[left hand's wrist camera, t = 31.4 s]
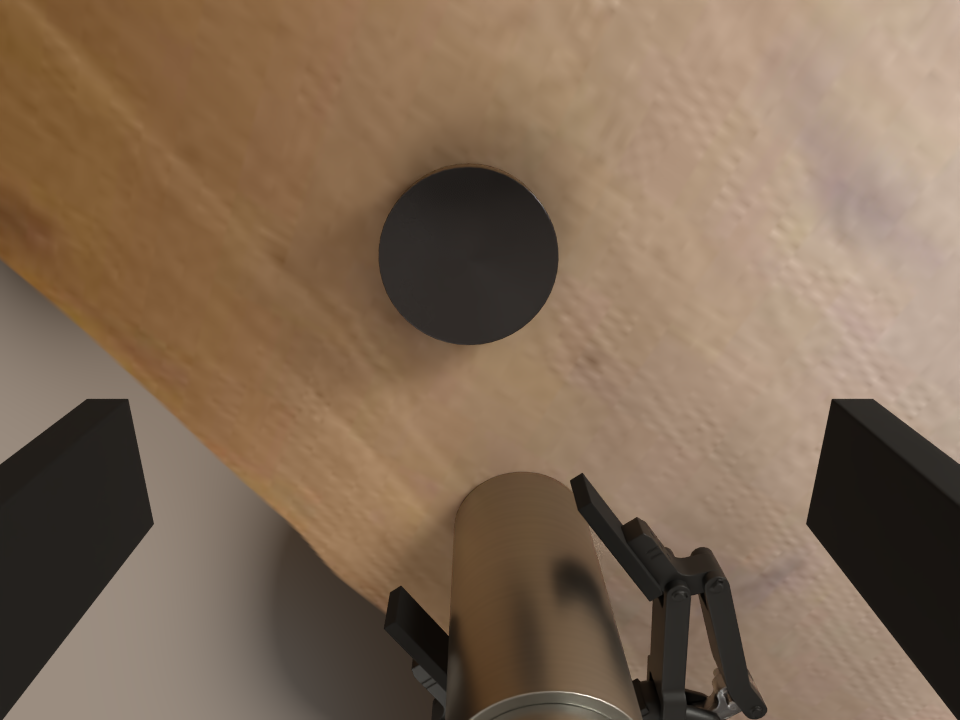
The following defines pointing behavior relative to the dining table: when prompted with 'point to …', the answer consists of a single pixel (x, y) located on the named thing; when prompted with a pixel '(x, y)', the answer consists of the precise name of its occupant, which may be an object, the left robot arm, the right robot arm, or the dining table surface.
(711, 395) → the dining table surface
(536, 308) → the lid
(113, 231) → the dining table surface
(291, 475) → the dining table surface
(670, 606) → the right robot arm
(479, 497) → the jar
